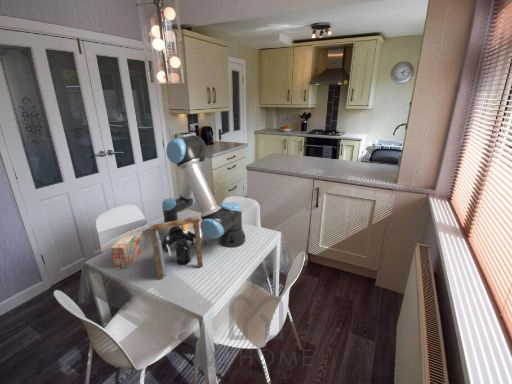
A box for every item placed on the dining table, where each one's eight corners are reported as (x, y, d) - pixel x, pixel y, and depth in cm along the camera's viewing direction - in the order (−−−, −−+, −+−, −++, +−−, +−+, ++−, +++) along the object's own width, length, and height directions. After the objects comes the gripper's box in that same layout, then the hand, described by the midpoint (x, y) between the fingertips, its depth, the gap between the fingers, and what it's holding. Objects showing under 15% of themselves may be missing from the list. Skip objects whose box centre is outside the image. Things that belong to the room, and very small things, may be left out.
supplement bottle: (177, 266, 134) (174, 245, 130) (177, 259, 141) (174, 238, 137) (191, 264, 136) (188, 243, 132) (190, 257, 142) (188, 236, 138)
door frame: (201, 264, 136) (197, 215, 126) (202, 267, 134) (198, 217, 125) (158, 277, 127) (149, 225, 118) (158, 279, 125) (150, 227, 116)
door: (156, 260, 139) (151, 229, 133) (161, 259, 140) (156, 228, 134) (160, 276, 127) (155, 242, 120) (166, 274, 128) (161, 241, 121)
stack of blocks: (135, 246, 154) (131, 226, 149) (146, 246, 153) (142, 226, 149) (115, 268, 134) (110, 247, 129) (127, 269, 133) (123, 247, 129)
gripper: (197, 232, 158) (208, 249, 140) (152, 243, 147) (158, 263, 129) (196, 221, 155) (207, 237, 137) (150, 230, 144) (156, 249, 127)
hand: (184, 249), depth 133 cm, fingers open, 13 cm apart
